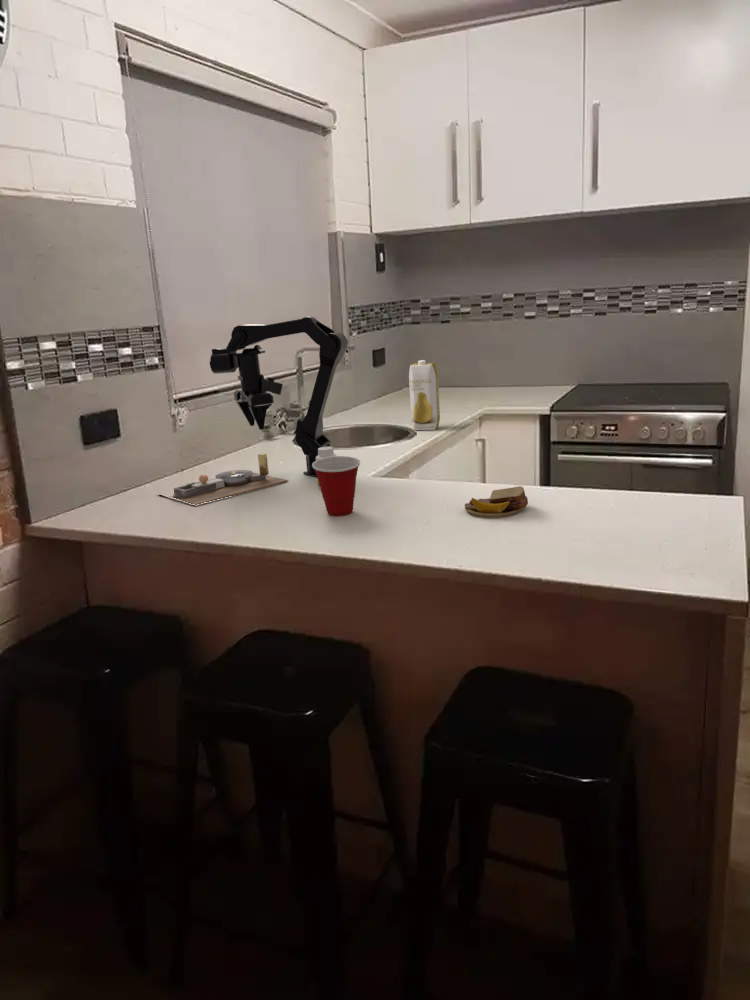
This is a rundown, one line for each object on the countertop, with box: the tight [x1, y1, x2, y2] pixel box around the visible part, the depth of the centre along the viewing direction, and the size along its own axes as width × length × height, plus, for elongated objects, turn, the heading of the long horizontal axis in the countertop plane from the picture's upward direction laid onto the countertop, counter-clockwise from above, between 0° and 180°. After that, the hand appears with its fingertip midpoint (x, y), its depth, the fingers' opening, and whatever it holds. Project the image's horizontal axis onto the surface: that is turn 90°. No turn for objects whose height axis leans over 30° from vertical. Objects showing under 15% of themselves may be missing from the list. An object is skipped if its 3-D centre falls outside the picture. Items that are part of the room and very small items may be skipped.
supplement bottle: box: [316, 446, 337, 488], centre depth 194 cm, size 6×6×10 cm
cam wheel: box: [215, 453, 270, 486], centre depth 205 cm, size 12×12×7 cm
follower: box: [191, 474, 225, 489], centre depth 198 cm, size 3×8×4 cm, turn 133°
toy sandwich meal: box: [464, 485, 529, 519], centre depth 164 cm, size 12×14×5 cm
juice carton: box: [408, 359, 441, 431], centre depth 262 cm, size 9×8×24 cm
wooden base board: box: [170, 472, 288, 505], centre depth 201 cm, size 20×28×3 cm
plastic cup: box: [312, 455, 361, 517], centre depth 169 cm, size 11×11×12 cm
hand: (256, 427), depth 211 cm, fingers open, 9 cm apart
